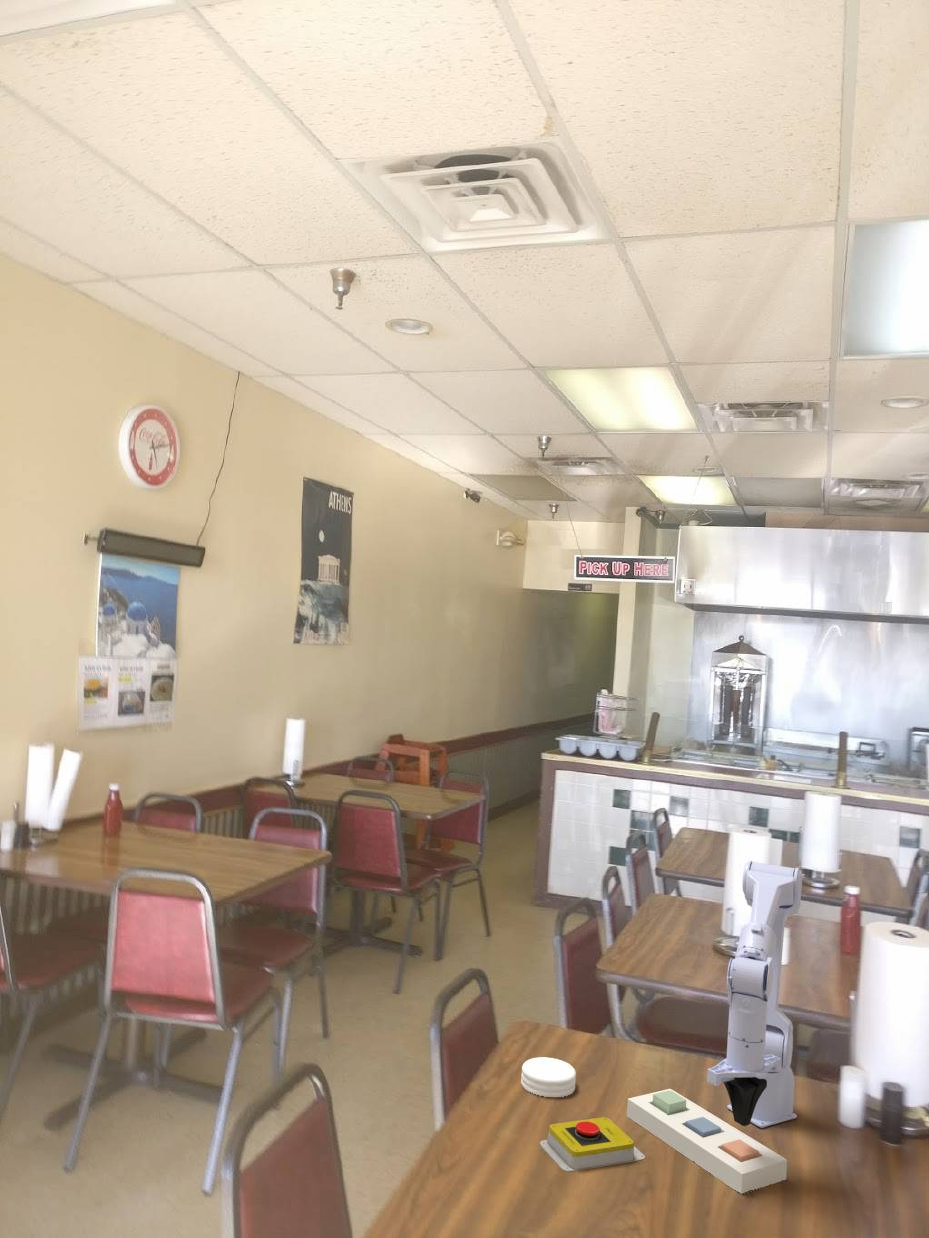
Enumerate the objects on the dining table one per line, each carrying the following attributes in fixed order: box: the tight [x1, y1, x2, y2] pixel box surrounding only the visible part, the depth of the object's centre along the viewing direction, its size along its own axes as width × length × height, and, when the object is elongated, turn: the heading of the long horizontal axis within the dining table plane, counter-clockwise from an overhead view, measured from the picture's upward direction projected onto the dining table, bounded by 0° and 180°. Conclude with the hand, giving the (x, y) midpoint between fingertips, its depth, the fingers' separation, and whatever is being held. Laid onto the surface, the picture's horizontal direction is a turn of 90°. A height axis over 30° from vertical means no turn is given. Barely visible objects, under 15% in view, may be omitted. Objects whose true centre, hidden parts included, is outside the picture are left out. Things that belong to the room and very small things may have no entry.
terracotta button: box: [722, 1139, 759, 1162], centre depth 149 cm, size 4×4×3 cm
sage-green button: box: [652, 1090, 686, 1115], centre depth 163 cm, size 4×4×3 cm
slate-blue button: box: [685, 1117, 721, 1138], centre depth 156 cm, size 4×4×3 cm
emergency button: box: [539, 1116, 646, 1173], centre depth 152 cm, size 9×4×15 cm
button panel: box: [626, 1088, 788, 1195], centre depth 156 cm, size 10×26×3 cm, turn 31°
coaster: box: [520, 1056, 577, 1098], centre depth 174 cm, size 10×10×4 cm
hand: (741, 1122), depth 149 cm, fingers closed
